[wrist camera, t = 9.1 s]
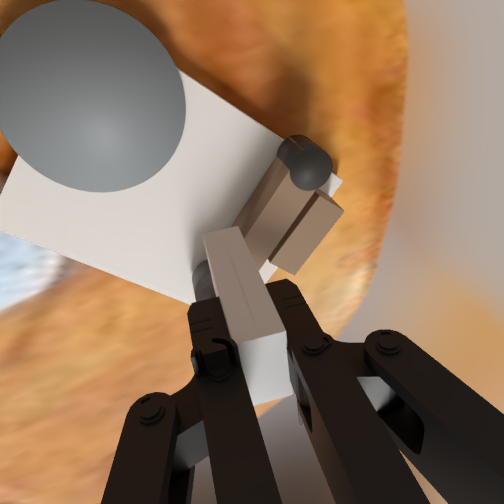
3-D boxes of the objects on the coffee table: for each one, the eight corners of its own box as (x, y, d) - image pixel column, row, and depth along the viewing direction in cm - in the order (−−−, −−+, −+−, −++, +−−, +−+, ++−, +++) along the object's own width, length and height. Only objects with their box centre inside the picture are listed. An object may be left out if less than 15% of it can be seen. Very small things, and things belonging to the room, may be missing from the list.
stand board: (-59, 197, 27) (-107, 244, 22) (40, -49, 22) (9, -65, 17) (233, 314, 37) (248, 365, 32) (345, 164, 32) (384, 196, 27)
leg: (286, 124, 28) (303, 137, 25) (326, 150, 29) (346, 165, 27) (183, 286, 33) (187, 313, 30) (222, 301, 34) (230, 328, 31)
